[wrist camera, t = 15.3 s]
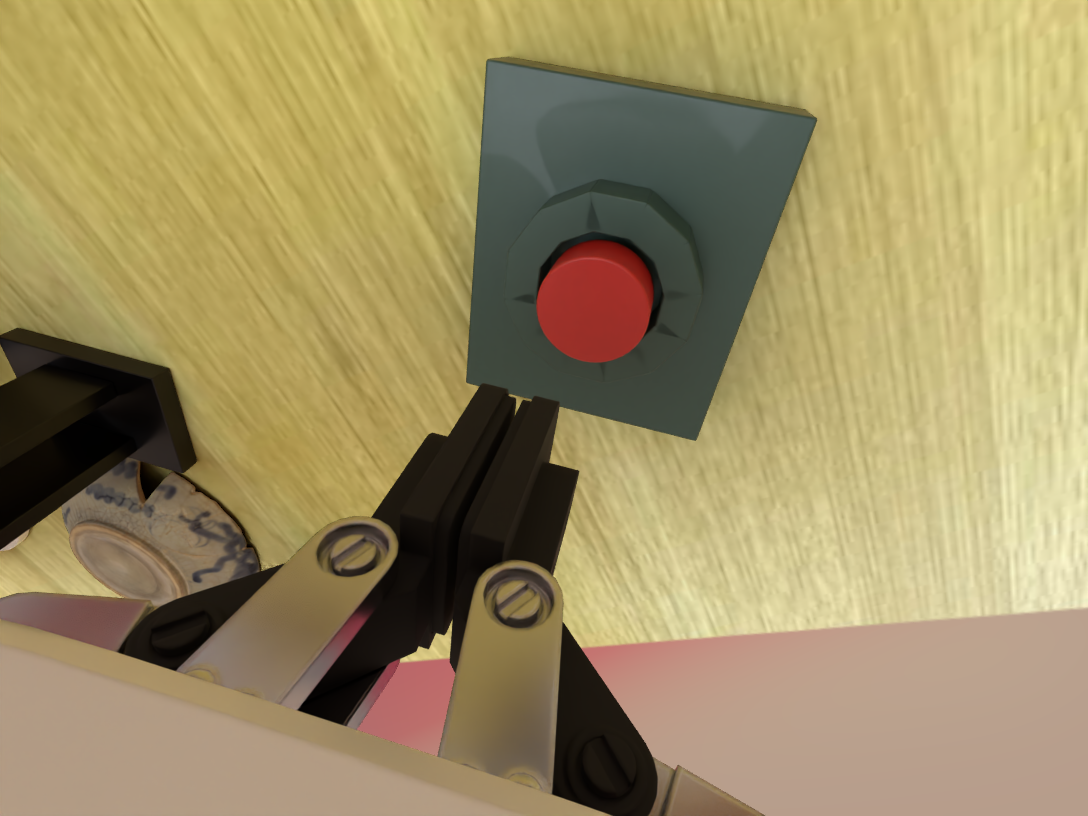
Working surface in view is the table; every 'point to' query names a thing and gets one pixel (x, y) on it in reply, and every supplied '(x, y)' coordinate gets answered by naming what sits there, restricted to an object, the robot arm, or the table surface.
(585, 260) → the button
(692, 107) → the block
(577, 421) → the table surface
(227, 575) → the decorative bowl
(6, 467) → the lever bracket
